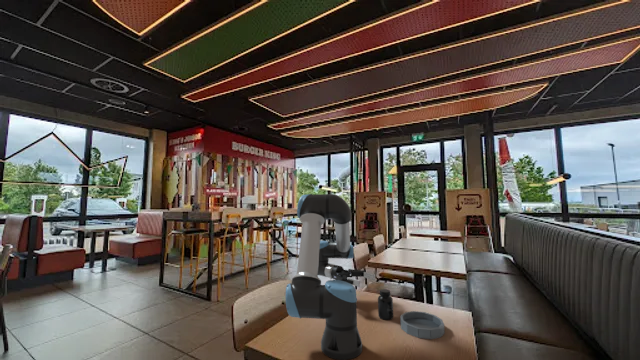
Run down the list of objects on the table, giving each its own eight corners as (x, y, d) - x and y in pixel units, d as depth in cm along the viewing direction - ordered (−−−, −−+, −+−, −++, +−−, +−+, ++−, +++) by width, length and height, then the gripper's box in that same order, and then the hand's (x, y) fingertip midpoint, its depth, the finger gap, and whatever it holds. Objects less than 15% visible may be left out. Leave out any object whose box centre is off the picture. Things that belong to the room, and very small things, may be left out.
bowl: (417, 341, 101) (417, 332, 102) (393, 322, 118) (393, 314, 118) (453, 335, 106) (453, 326, 106) (425, 317, 122) (425, 309, 123)
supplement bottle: (392, 314, 126) (391, 288, 127) (394, 320, 119) (393, 293, 120) (377, 313, 127) (376, 288, 127) (379, 320, 120) (378, 293, 121)
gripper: (348, 273, 155) (380, 281, 140) (319, 284, 136) (352, 295, 122) (348, 260, 155) (380, 267, 140) (319, 269, 137) (352, 278, 122)
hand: (367, 280), depth 131 cm, fingers open, 13 cm apart
